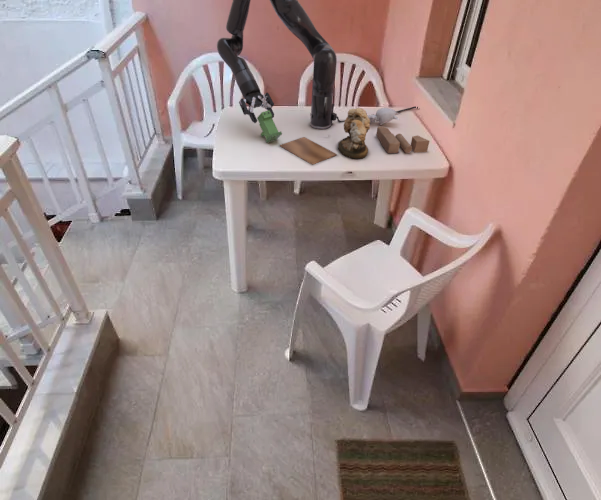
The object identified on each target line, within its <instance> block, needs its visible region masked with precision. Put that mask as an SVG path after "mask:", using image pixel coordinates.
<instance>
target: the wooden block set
mask: <svg viewBox="0 0 601 500" xmlns="http://www.w3.org/2000/svg"><path fill="white" fill-rule="evenodd" d="M375 135H376V137H377V138H378V140H379V141H380V142H381V143H380V144H381V146H382V147H383V149H384V150H385V152H386V153H387V154H398V153H399V150H400V148H401V149H402V150H403V152H404V153H406V154H409V153H411V152H413V153H428V150H429V149H428V148H429V144H430V140H428V139H426V138H424V137H422V136H420V135H413V136H412V137H411V142H410V143H409V141H407V139H406V138H405V136H404V135H403V134H401V133H396V134H394V133H392V132H391V130H390V129H389V128H388V127H385V126H382V125H380V126H377V127H376V133H375Z"/></svg>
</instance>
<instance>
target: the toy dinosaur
mask: <svg viewBox="0 0 601 500" xmlns="http://www.w3.org/2000/svg"><path fill="white" fill-rule="evenodd" d="M256 118H257V122H258V124H259V127H260V129H261V132H260V136H261V137H263V138H264V137H265V142H266V143H271V142H274V141H277V140H278V139H279V138H280V137H281V136H282V135H283V133H282V131H279V130H278V128H277V126H276V124H275V121H274V119H273V118H272V114H271V112H270V110H268V111H267V110H265V111H262V112H261V113H260V114H259V115H258V116H257V117H256Z"/></svg>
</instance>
